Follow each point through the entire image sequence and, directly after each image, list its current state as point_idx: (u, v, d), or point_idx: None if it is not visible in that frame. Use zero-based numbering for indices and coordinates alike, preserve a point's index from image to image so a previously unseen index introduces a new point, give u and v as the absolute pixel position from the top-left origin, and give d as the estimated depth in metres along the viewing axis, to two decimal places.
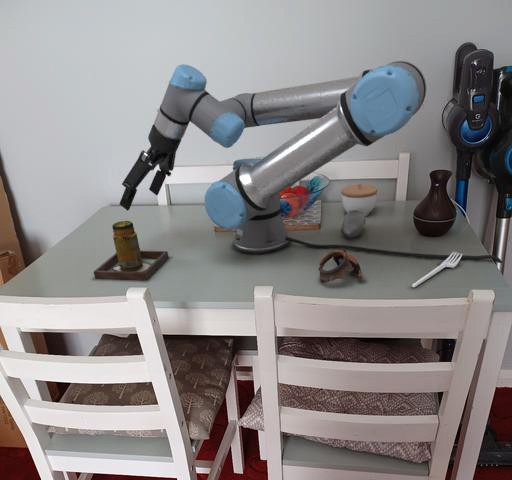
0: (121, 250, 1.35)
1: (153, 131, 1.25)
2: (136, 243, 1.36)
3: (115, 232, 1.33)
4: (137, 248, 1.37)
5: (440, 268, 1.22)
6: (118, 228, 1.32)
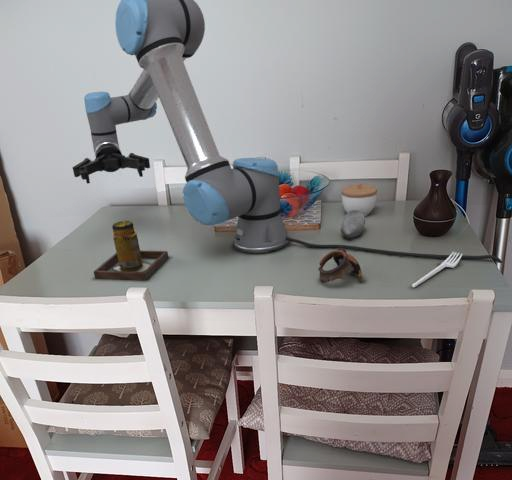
0: (121, 250, 1.35)
1: None
2: (136, 243, 1.36)
3: (115, 232, 1.33)
4: (137, 248, 1.37)
5: (440, 268, 1.22)
6: (118, 228, 1.32)
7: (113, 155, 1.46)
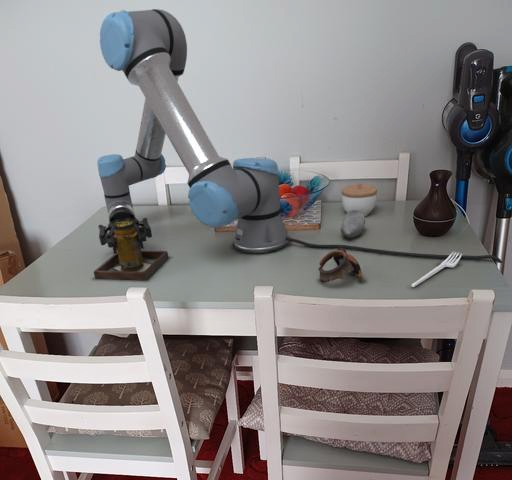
0: (122, 250, 1.35)
1: None
2: (137, 243, 1.36)
3: (116, 232, 1.33)
4: (138, 248, 1.37)
5: (440, 268, 1.22)
6: (119, 228, 1.32)
7: None
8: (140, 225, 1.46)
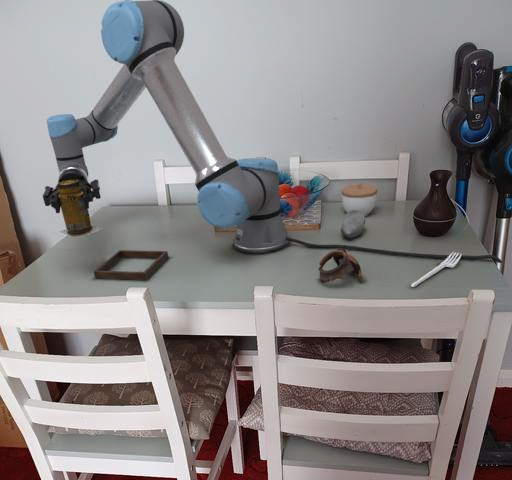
0: (67, 211, 1.26)
1: None
2: (83, 203, 1.27)
3: (60, 191, 1.25)
4: (84, 209, 1.28)
5: (439, 268, 1.22)
6: (62, 187, 1.24)
7: None
8: (90, 187, 1.37)
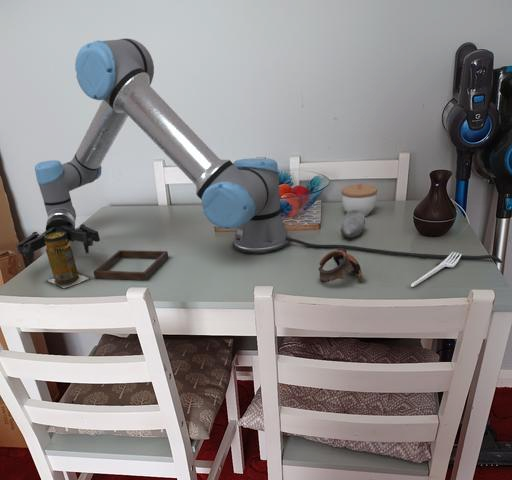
0: (54, 263, 1.31)
1: None
2: (70, 255, 1.32)
3: (47, 244, 1.29)
4: (71, 260, 1.33)
5: (439, 268, 1.22)
6: (49, 240, 1.28)
7: (62, 228, 1.40)
8: None
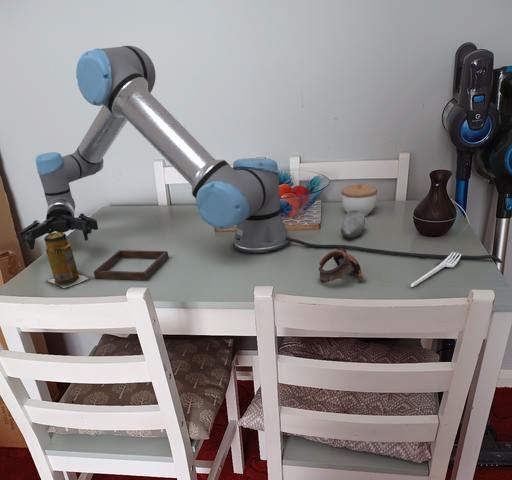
0: (54, 263, 1.31)
1: None
2: (70, 255, 1.32)
3: (47, 244, 1.29)
4: (71, 260, 1.33)
5: (439, 268, 1.22)
6: (49, 240, 1.28)
7: (62, 217, 1.45)
8: None
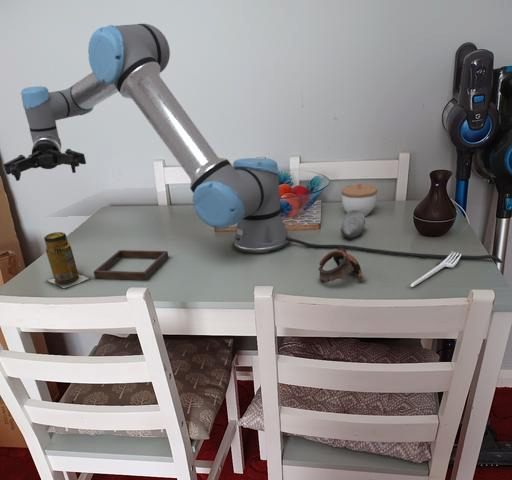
0: (54, 263, 1.31)
1: None
2: (70, 255, 1.32)
3: (47, 244, 1.29)
4: (71, 260, 1.33)
5: (439, 268, 1.23)
6: (49, 240, 1.28)
7: (48, 151, 1.42)
8: None
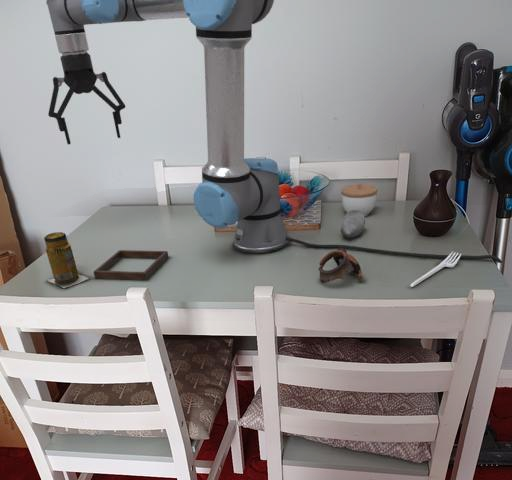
0: (54, 263, 1.31)
1: None
2: (70, 255, 1.32)
3: (47, 244, 1.29)
4: (71, 260, 1.33)
5: (439, 268, 1.23)
6: (49, 240, 1.28)
7: (86, 84, 1.37)
8: None
